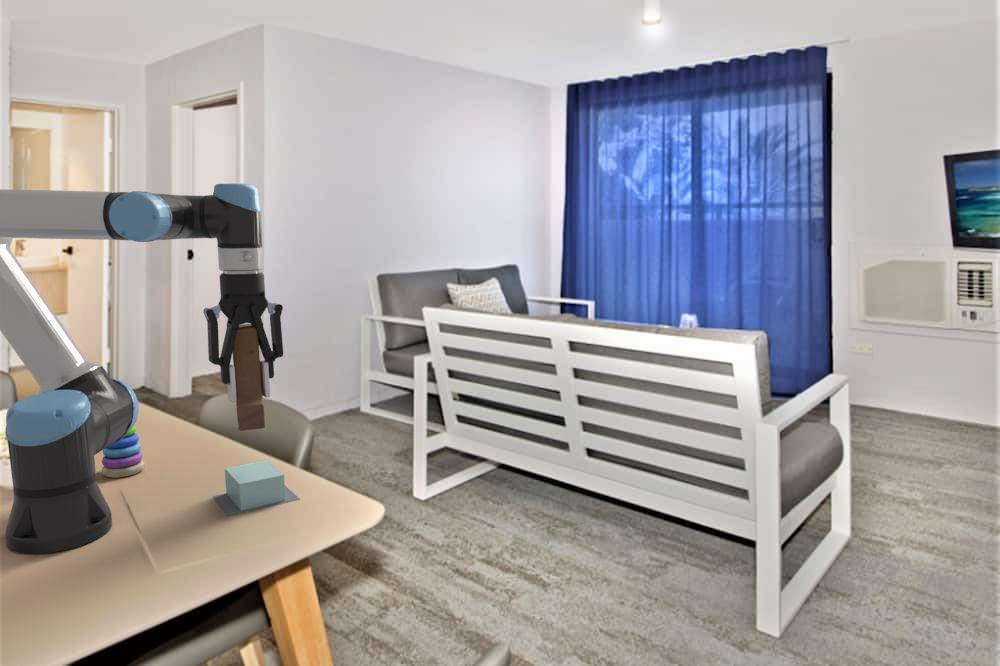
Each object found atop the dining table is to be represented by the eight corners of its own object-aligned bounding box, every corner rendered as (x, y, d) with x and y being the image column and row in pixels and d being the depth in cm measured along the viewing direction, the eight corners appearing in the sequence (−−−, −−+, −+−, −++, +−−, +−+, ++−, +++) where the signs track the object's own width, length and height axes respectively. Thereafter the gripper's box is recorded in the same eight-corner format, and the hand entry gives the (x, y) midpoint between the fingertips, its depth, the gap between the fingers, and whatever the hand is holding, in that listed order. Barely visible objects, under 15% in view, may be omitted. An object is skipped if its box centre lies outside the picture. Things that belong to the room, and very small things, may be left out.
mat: (228, 519, 124) (228, 515, 124) (212, 499, 133) (212, 496, 133) (300, 502, 132) (300, 499, 132) (281, 484, 141) (280, 481, 141)
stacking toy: (153, 466, 151) (146, 380, 148) (130, 479, 143) (122, 389, 140) (118, 465, 152) (110, 379, 149) (93, 478, 144) (85, 388, 141)
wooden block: (265, 428, 127) (259, 330, 124) (238, 431, 126) (231, 331, 123) (262, 416, 135) (256, 323, 133) (237, 418, 134) (230, 324, 131)
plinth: (241, 510, 127) (239, 484, 126) (226, 493, 135) (224, 468, 134) (285, 500, 131) (283, 474, 130) (268, 484, 139) (267, 460, 138)
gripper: (191, 275, 118) (201, 410, 122) (299, 270, 129) (305, 395, 132) (182, 272, 124) (191, 401, 128) (285, 268, 135) (291, 387, 138)
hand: (249, 398), depth 130 cm, fingers closed on wooden block, 5 cm apart
